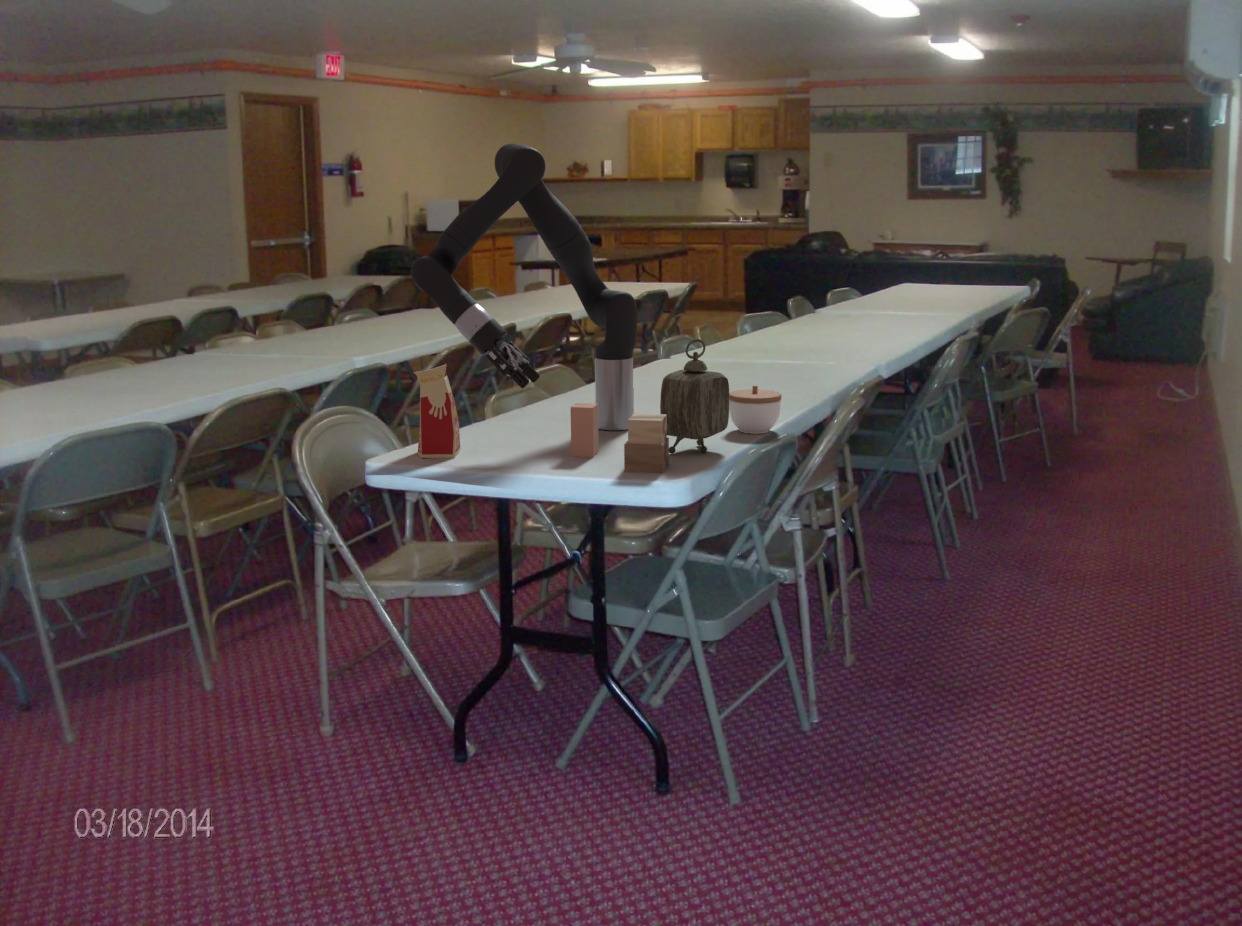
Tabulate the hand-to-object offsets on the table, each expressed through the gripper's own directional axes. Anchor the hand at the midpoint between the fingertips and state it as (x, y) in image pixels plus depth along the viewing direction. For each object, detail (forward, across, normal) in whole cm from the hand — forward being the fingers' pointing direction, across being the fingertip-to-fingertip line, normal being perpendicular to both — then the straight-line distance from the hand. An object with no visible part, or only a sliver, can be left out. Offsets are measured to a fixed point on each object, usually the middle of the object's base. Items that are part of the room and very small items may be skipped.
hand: (531, 382), depth 264 cm
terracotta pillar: (+20, 0, +3) cm, 20 cm away
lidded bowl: (+43, +33, -22) cm, 58 cm away
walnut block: (+31, -10, -8) cm, 33 cm away
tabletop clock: (+36, +7, -14) cm, 39 cm away
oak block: (+27, -10, -13) cm, 31 cm away
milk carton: (-3, -4, +26) cm, 26 cm away
